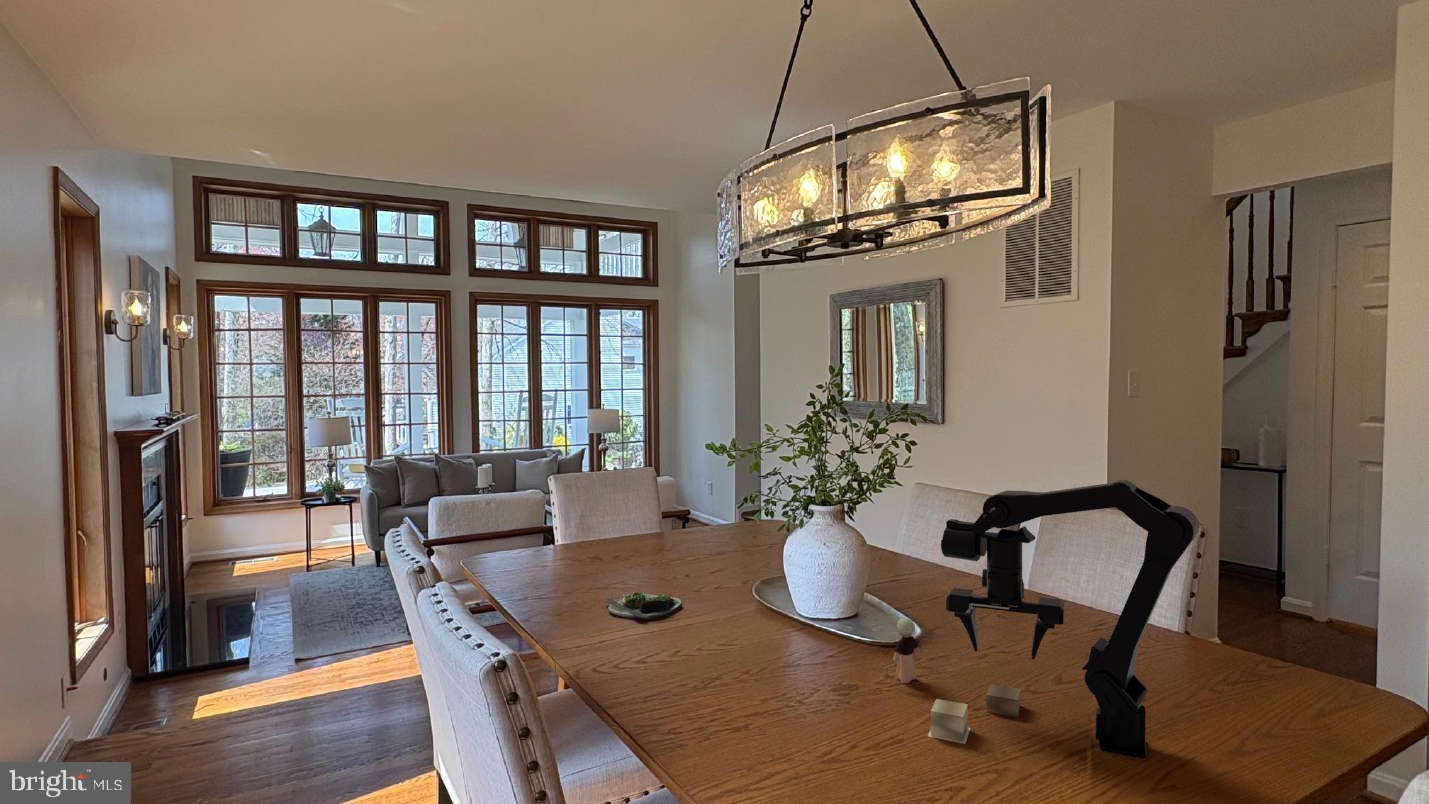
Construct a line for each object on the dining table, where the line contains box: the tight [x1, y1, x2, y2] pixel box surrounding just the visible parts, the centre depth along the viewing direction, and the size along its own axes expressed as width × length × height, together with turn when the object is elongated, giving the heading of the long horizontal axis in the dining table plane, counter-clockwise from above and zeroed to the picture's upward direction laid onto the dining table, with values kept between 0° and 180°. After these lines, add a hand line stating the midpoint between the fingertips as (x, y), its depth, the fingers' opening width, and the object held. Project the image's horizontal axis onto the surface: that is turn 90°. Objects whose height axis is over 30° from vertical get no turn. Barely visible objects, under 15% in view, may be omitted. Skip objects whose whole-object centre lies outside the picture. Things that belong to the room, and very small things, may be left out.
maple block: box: [930, 698, 969, 742], centre depth 124 cm, size 5×5×4 cm
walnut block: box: [986, 683, 1022, 718], centre depth 132 cm, size 5×5×4 cm
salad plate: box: [604, 591, 683, 621], centre depth 193 cm, size 19×18×5 cm
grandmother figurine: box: [892, 617, 921, 684], centre depth 145 cm, size 8×4×13 cm, turn 141°
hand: (1004, 654), depth 132 cm, fingers open, 9 cm apart
